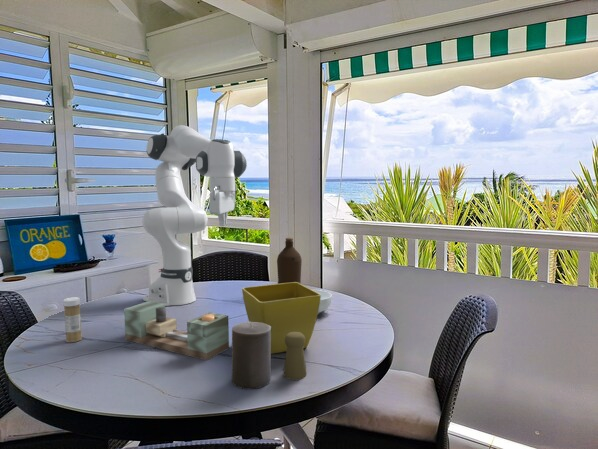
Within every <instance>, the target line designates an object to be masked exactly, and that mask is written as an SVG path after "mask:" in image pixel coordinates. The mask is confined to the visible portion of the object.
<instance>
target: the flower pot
mask: <svg viewBox="0 0 598 449" xmlns="http://www.w3.org/2000/svg"><path fill="white" fill-rule="evenodd" d="M241 290H242V298H243V303H244V307H245V312H246V316H247V319H248V322H259V323H264V324H267V325H269V326H271V354H278V353H284V352H285V353H286V351H287V345H286V344H285V337H286V335H287V334H288V333H290V332H300V333H302V334H303V335H304V336H305V343H304V345H303V349H306V348H308V346H309V343H310V342H311V338H312V335H313V333H314V329H315V326H316V322H317V319H318V315H319V314H318V310H319V304H320V298H321V295H320V294H319V293H317V292H315V291H313V290H314V289H311V288H309V287H307V286H305V285H303V284H300V283H297V282H292V283H282V284H278V283H273V284H262V285H257V286H255V285H254V286H245V287H242V288H241Z"/></svg>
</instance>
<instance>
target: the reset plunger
mask: <svg viewBox="0 0 598 449" xmlns="http://www.w3.org/2000/svg"><path fill="white" fill-rule="evenodd" d="M206 314H207V313H206ZM201 316H202V315H201ZM212 320H214V315H211V314H207V315H205V314H203V316H202V321H207V322H210V321H212Z"/></svg>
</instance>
